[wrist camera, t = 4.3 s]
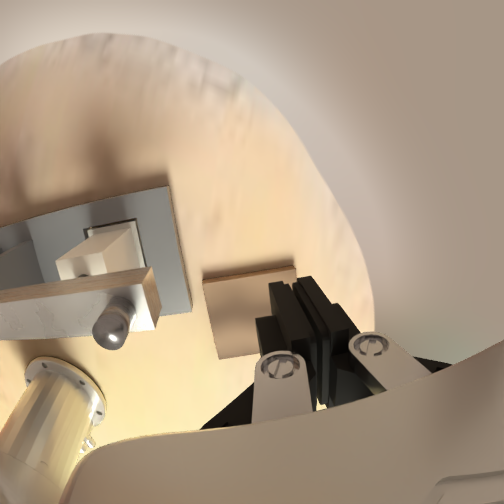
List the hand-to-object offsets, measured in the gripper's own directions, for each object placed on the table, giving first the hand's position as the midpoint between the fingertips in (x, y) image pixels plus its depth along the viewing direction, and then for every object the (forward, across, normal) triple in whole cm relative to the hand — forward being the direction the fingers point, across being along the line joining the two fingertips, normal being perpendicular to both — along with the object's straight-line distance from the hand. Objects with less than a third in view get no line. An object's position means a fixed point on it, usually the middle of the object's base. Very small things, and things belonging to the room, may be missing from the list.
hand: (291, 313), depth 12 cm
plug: (+17, +13, 0) cm, 21 cm away
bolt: (+6, +18, 0) cm, 18 cm away
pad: (+17, +1, +10) cm, 20 cm away
